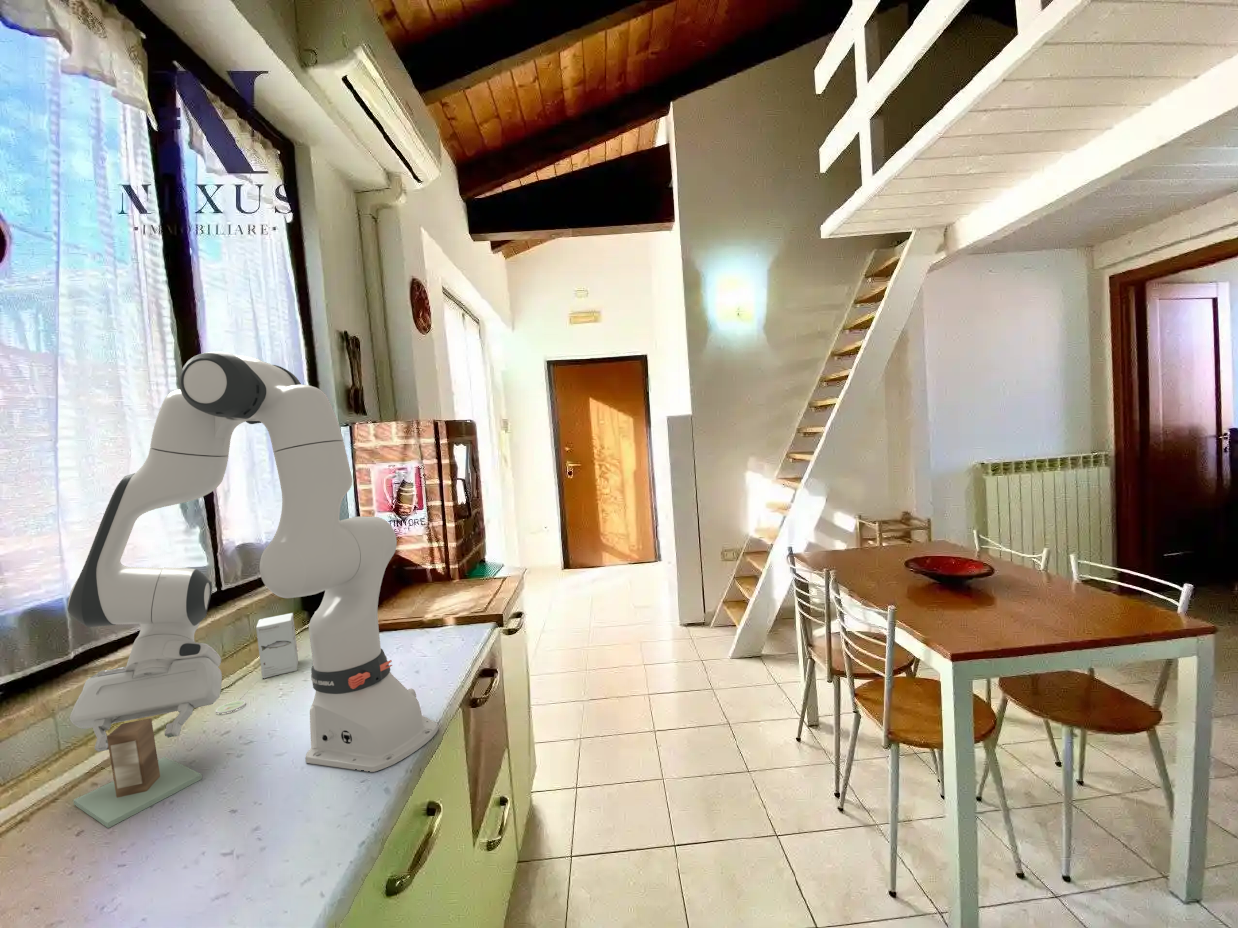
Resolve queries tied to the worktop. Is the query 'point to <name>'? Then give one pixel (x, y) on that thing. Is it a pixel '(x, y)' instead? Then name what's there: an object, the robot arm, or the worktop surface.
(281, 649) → the supplement box
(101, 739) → the robot arm
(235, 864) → the worktop surface
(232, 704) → the sign
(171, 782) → the rubber mat
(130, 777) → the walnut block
